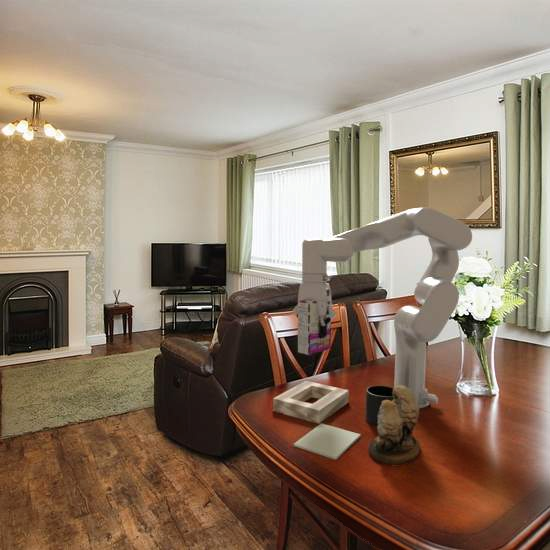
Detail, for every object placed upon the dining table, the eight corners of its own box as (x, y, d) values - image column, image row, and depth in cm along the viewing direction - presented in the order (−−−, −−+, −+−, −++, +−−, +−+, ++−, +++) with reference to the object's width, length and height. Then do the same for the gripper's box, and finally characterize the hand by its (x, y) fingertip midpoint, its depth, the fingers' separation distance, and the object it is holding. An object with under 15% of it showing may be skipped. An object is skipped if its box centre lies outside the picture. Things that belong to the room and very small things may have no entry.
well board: (348, 402, 143) (348, 390, 142) (319, 423, 126) (319, 410, 126) (305, 391, 152) (305, 380, 151) (273, 410, 135) (273, 398, 135)
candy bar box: (318, 345, 143) (320, 296, 142) (331, 349, 140) (332, 298, 138) (296, 352, 135) (297, 300, 134) (308, 356, 132) (309, 302, 130)
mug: (404, 415, 133) (405, 386, 132) (392, 430, 122) (393, 399, 122) (374, 408, 138) (375, 380, 137) (360, 422, 127) (361, 392, 127)
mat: (360, 436, 119) (360, 434, 119) (335, 459, 106) (335, 457, 106) (321, 425, 125) (321, 423, 125) (293, 446, 113) (293, 443, 113)
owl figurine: (384, 430, 123) (386, 371, 121) (427, 442, 116) (430, 379, 115) (359, 457, 107) (362, 390, 106) (407, 472, 101) (411, 401, 99)
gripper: (345, 279, 133) (344, 337, 135) (296, 276, 143) (296, 330, 145) (333, 281, 127) (333, 342, 129) (284, 278, 137) (284, 335, 139)
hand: (313, 335), depth 137 cm, fingers closed on candy bar box, 5 cm apart
